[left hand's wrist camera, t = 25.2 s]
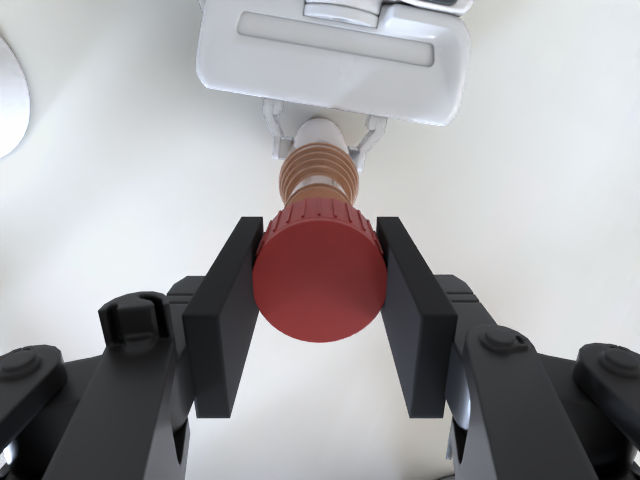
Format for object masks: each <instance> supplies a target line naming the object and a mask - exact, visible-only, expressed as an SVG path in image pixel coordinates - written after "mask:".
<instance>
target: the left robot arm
mask: <svg viewBox="0 0 640 480" xmlns="http://www.w3.org/2000/svg"><path fill="white" fill-rule="evenodd" d="M263 234H264V232H263V217H241V219H240V220H239V222H238V224H237V225H236V227H235V229H234V230H233V232H232V234H231V235H230V237H229V238H228V240H227V242H226V243H225V245H224V247H223V248H222V250H221V252H220V253H219V255H218V256H217V258H216V260H215V261H214V263H213V265H212V266H211V268H210V270H209V271H208V273H207V275H206V276H186V277H185V278H183V279H182V280H180V281H178V282H177V283H175V284H174V285H173V286H172V288H171V289H170V290H169V292H168V293H167V296H165V295H164V294H162V293H158V292H153V291H149V292H136V293H130V294H126V295H123V296H120V297H117V298H115V299H113V300H111V301H109V302H108V303H106V304H104V305H103V306H102V307H101V308H100V309H99V310H98V313H99V318H100V322H101V326H102V330H103V334H104V339H105V343H106V348H105V350H104V352H103V354H102V355H99V356H95V357H91V358H86V359H81V360H76V361H71V362H65V363H64V361H63V357H62V354H61V351H60V350H59V349H57V348H56V347H55V346H49V345H35V346H27V347H23V348H19V349H15V350H13V351H11V352H9V353H7V354H5V355H3V356H0V454H1V453H2V452H3V454H4V457H5V459H6V463H5V465H4V466H3V467H2V468H1V469H0V480H185V472H186V463H187V455H188V447H189V438H190V429H189V423H188V414H189V411H190V409H191V406H192V404H193V401H194V403H195V409H196V416H197V418H230V416H231V412H232V409H233V405H234V401H235V398H236V394H237V390H238V387H239V383H240V379H241V376H242V372H243V368H244V365H245V361H246V357H247V354H248V350H249V346H250V343H251V339H252V335H253V332H254V328H255V324H256V321H257V317H258V313H259V308H258V307H257V305H256V302H255V300H254V291H253V277H252V270H253V266H254V263H255V260H256V258H257V256H255V254H256V252H257V249H258V247H259V244H260V241H261V239H262V236H263ZM376 235H377V237H378V240H379V242H380V245H381V247H382V250H383V253H384V255H383V258H384V261H385V263H386V267H387V287H386V299H385V302H384V304H383V306H382V308H381V310H380V311H381V314H382V318H383V322H384V325H385V329H386V333H387V336H388V340H389V344H390V347H391V351H392V355H393V358H394V362H395V366H396V369H397V373H398V377H399V380H400V384H401V388H402V391H403V395H404V399H405V402H406V406H407V410H408V413H409V417H410V418H443V414H444V408H445V401H446V400H447V402H448V405H449V407H450V410H451V412H452V415H453V416H452V423H451V429H450V435H449V441H448V448H447V454H446V459H450V460H451V457H452V454H453V462H454V471H455V476H450V477H446V478H442V479H439V480H640V467H639V466H638V465H637V464H636V462H635V461H634V458H635V456H636V453H637V451H638V450H639V451H640V354H638V353H635V352H633V351H631V350H629V349H627V348H625V347H621V346H617V345H613V344H603V343H592V344H586V345H584V346H583V347H582V348H580V349H579V353H578V356H577V360H576V361H573V360H568V359H563V358H558V357H553V356H548V355H544V354H540V353H537V351H536V349H535V347H534V346H533V344H532V343H531V342H530V341H529V339H528V338H526V337H525V336H523V335H522V334H520V333H519V332H517V331H515V330H512V329H510V328H507V327H504V326H499V325H497V324H496V322H495V321H494V320H493V318H492V317H491V316H490V314H489V313H488V312H487V310H486V309H485V308H484V306H483V305H482V304H481V303H479V300H478V298H477V297H476V296H475V294H473V292H472V290H471V289H470V288H469V286H468V285H467V284H466V283H465V282H464V281H462V280H460V279H459V278H457V277H456V276H454V275H433V273H432V272H431V270H430V268H429V267H428V265H427V263H426V262H425V260H424V259H423V257H422V255H421V254H420V252H419V250H418V249H417V247H416V245H415V244H414V242H413V241H412V239H411V237H410V236H409V234H408V232H407V231H406V229H405V227H404V226H403V224H402V222H401V221H400V219H399V218H398V217H377V227H376Z"/></svg>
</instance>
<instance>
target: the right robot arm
mask: <svg viewBox="0 0 640 480" xmlns="http://www.w3.org/2000/svg"><path fill="white" fill-rule="evenodd" d="M473 1H474V0H199V4H200V8H201V10H202V12H203V17H202V22H201V28H200V34H199V41H198V49H197V59H196V73H197V75H198V77H199V79H200V80H201V82H202V83H203V85H204V86H205V87H206V88H210V89H216V90H222V91H228V92H234V93H240V94H246V95H253V96H259V97H264V104H263V115H264V117H265V120H266V122H267V124H268V127H269V129H270V131H271V134H272V136H273V137H274V145H273V154H272V158H274V159H281V160H285V158H286V156H287V154H288V152H289V150H290V147H291V145H292V143H293V137H289V136H284V134H283V131H282V128H281V126H280V123H279V121H278V118H277V116H276V115H280V114H281V113H282V112H283V105H284V101H289V102H296V103H302V104H308V105H314V106H320V107H326V108H333V109H339V110H345V111H351V112H357V113H363V114H367V117H366V123H365V126H366V127H367V128H368V129H369V130H370V131H369V132H368V133H367V135H366V136H365V137H364V138H363V140H362V141H361V142H360V143H359V145H358V146H357V147H353V146H347V148H348V150H349V152H350V154H351V157H352V159H353V161H354V164H355V166H356V169H357V171H359V172H362V170H363V167H364V162H365V157H366V152H367V151H369V150H370V149H371V148H372V146H373V145H374V144H375V143H376V142H377V141H378V139H379V138H380V137H381V136H382V135H383V134H384V132H385V127H386V122H387V118H394V119H400V120H406V121H413V122H419V123H425V124H431V125H437V126H446V125H447V124H448V123H449V122H451V121H452V120H453V119H454V118H455V117H456V116H457V114H458V112H459V109H460V106H461V102H462V98H463V94H464V89H465V84H466V79H467V73H468V67H469V60H470V51H471V38H470V33H469V30H468V28H467V26H466V24H465V23H464V22H463V21H462V20H461V19H460V18H459V17H460V16H462V15H463V14H464V13H466V12H467V11H468V10H469V9H470V7H471V6H472V4H473ZM29 118H30V96H29V90H28V86H27V82H26V79H25V76H24V73H23V71H22V68H21V66H20V64H19V62H18V60H17V58H16V57H15V55H14V53H13V52H12V50H11V49H10V47H9V46H8V45H7V43H6V42H5V41H4V39H3V38H2V37H1V36H0V158H1V157H3V156H5V155H7V154H8V153H10V152H11V151H12V150H13V149H14V148H15V147H16V146H17V145H18V144H19V143H20V141H21V140H22V138H23V136H24V134H25V132H26V130H27V127H28V123H29Z"/></svg>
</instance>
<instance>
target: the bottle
mask: <svg viewBox="0 0 640 480" xmlns="http://www.w3.org/2000/svg"><path fill="white" fill-rule="evenodd" d="M358 187H359V177H358V172H357V169H356V166H355V164H354V161H353V159H352V157H351V154H350V152H349V150H348V148H347V145H346V143H345V141H344V138H343V136H342V134H341V131H340V130H339V128H338V127H337V125H336V124H334V123H333V122H332V121H330V120H328V119H325V118H313V119H310V120H308V121H307V122H305V123H304V124H303V125H302V126H301V127H300V128H299V130H298V132H297V134H296V136H295V139H294V141H293V143H292V145H291V147H290V150H289V152H288V154H287V156H286V158H285V161H284V163H283V165H282V167H281V171H280V175H279V191H280V196H281V199H282V201H283V203H284V205H285V207H284V209H285V208H286V207H288V206H290V204H291V203H296V202H298V201H301V200H304V198H306V199H309V198H318V197H323V198H331V199H332V198H335V200H339V201H342V202H344V203H346V202H347V203H348V204H349V205H350V206H353V204H354V202H355V200H356V198H357V194H358Z"/></svg>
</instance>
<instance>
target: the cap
mask: <svg viewBox="0 0 640 480" xmlns="http://www.w3.org/2000/svg"><path fill="white" fill-rule="evenodd" d="M383 255H384V253H383V250H382V247H381V245H380V242H379V240H378V237H377V235H376V232H375V231H373V229H372V227H371V224H370V222H369V220H366V219H365V217H364V216H363V215H362V214H361V213H360V211H359V210H356V209H355V208H353V207H352V206H350V205H349V204H348V203H347V202H346V203H344V202H342V201H339V200H335V198H332V199H331V198H323V197H318V198H309V199H306V198H304V200H301V201H298V202H296V203H291V204H290V206H288V207H286V208H285V209H283V210H282V211H281V210H280V211H279V213H278V215H277V216H276V217H275V218H274V219H273V221H272V220H271V221H270V222H269V225H268V228H267V230H266V232H264V234H263V236H262V239H261V241H260V244H259V247H258V249H257V252H256V254H255V256H257V258H256V260H255V263H254V266H253V270H252V277H253V291H254V300H255V302H256V305H257V307H258V308H259V310H260V312H261V313H262V315H263V316H264V317H265V319H266V320H267V321H268V322H269V323H270V324H271V325H272V326H274V327H275V328H276V329H277V330H279V331H281V332H282V333H284V334H286V335H288V336H290V337H292V338H295V339H298V340H302V341H307V342H316V343H324V342H333V341H338V340H341V339H344V338H347V337H350V336H352V335H354V334H356V333H358V332H359V331H361V330H362V329H364V328H365V327H366V326H367V325H368V324H370V323H371V322H372V320H373V319H374V318H375V317H376V316H377V314H378V313H379V311H380V310H381V308H382V306H383V304H384V302H385V299H386V287H387V267H386V263H385V261H384V258H383Z"/></svg>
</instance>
